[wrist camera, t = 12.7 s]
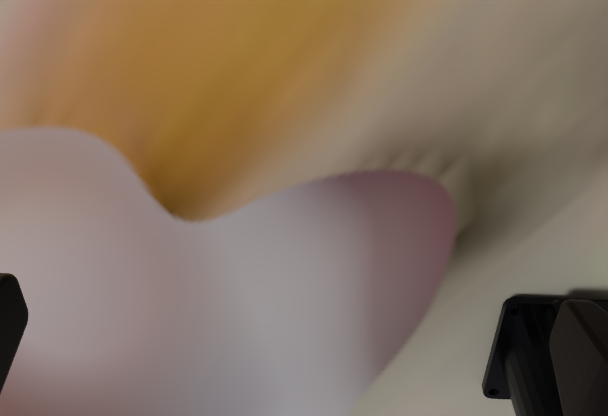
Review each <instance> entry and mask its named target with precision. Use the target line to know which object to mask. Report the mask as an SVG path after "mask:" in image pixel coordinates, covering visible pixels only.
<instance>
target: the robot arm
mask: <svg viewBox="0 0 608 416" xmlns="http://www.w3.org/2000/svg"><path fill="white" fill-rule="evenodd" d="M515 307H518V308H517V309H513V308H515ZM27 321H28V309H27V306H26V303H25V300H24V297H23V294H22V291H21V289H20V286H19V283H18V280H17V278H16V277H15V276H14V275H12V274H8V273H0V394H1V391H2V388H3V386H4V383H5V381H6V378H7V375H8V373H9V370H10V367H11V365H12V362H13V359H14V357H15V354H16V352H17V349H18V346H19V344H20V341H21V338H22V336H23V333H24V330H25V328H26V325H27ZM482 389H483V393H484V395H485V396H486V397H488V398H492V399H511V401H512V404H513V408H514V411H515V414H516V416H608V301H602V300H577V299H553V298H529V297H512V298H509V299H507V300H506V301H505V302H504V303H503V306H502V310H501V314H500V317H499V321H498V325H497V329H496V333H495V337H494V341H493V344H492V348H491V352H490V356H489V360H488V364H487V368H486V371H485V375H484V379H483V383H482Z"/></svg>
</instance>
